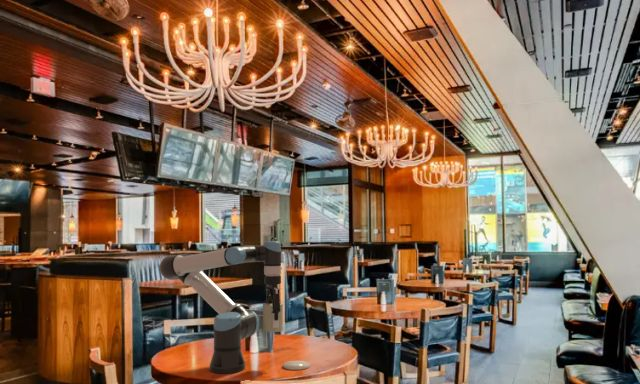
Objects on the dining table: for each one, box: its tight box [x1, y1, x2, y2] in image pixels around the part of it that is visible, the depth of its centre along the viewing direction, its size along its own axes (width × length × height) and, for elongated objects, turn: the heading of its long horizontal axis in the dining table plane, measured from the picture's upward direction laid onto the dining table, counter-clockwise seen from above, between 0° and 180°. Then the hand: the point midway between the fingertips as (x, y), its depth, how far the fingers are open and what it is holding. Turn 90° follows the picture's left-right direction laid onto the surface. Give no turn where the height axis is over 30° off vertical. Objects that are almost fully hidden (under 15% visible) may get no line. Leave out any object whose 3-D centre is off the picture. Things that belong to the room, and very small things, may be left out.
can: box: [262, 302, 284, 333], centre depth 231 cm, size 9×9×12 cm
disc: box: [282, 360, 311, 371], centre depth 226 cm, size 12×12×1 cm
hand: (272, 325), depth 231 cm, fingers closed on can, 9 cm apart
